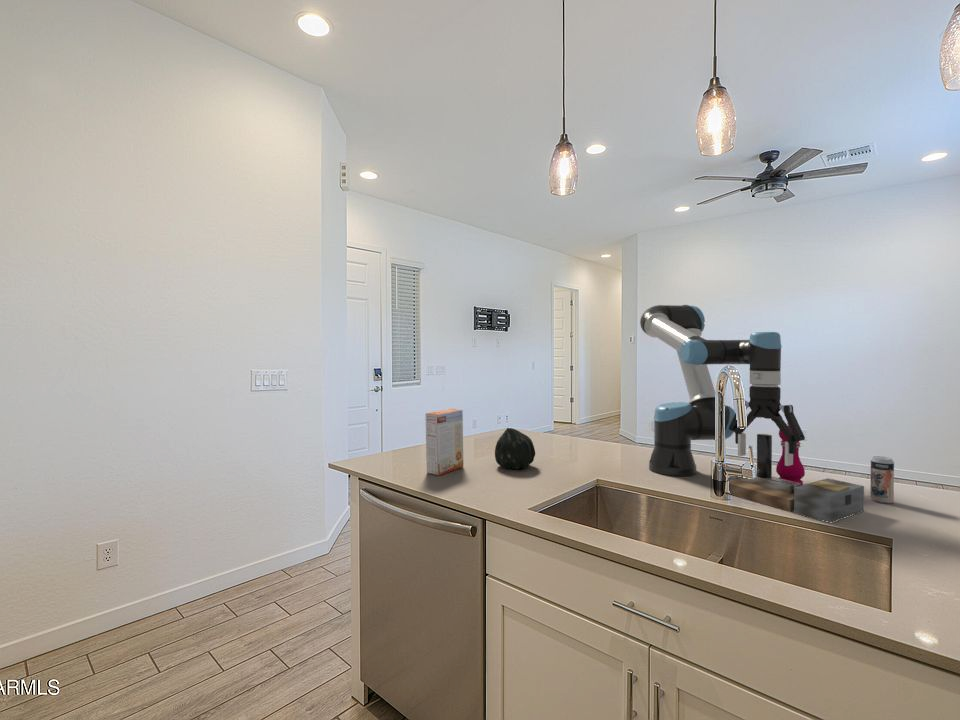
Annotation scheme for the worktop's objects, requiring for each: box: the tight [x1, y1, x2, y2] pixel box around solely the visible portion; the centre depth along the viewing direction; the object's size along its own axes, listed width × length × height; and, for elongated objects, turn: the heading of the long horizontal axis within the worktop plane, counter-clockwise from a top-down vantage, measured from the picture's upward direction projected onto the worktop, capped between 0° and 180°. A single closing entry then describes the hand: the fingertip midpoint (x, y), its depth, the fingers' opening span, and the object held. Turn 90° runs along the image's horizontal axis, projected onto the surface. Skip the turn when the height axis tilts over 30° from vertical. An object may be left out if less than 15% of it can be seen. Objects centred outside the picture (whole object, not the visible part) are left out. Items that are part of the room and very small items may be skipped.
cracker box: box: [425, 408, 464, 476], centre depth 154 cm, size 14×6×21 cm, turn 144°
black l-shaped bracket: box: [756, 433, 801, 492], centre depth 124 cm, size 12×4×14 cm, turn 28°
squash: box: [494, 427, 536, 470], centre depth 158 cm, size 14×15×15 cm
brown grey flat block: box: [728, 472, 865, 522], centre depth 121 cm, size 27×17×7 cm, turn 28°
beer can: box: [869, 455, 895, 505], centre depth 120 cm, size 5×5×12 cm
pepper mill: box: [775, 422, 806, 485], centre depth 135 cm, size 7×7×20 cm
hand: (764, 460), depth 126 cm, fingers open, 12 cm apart
